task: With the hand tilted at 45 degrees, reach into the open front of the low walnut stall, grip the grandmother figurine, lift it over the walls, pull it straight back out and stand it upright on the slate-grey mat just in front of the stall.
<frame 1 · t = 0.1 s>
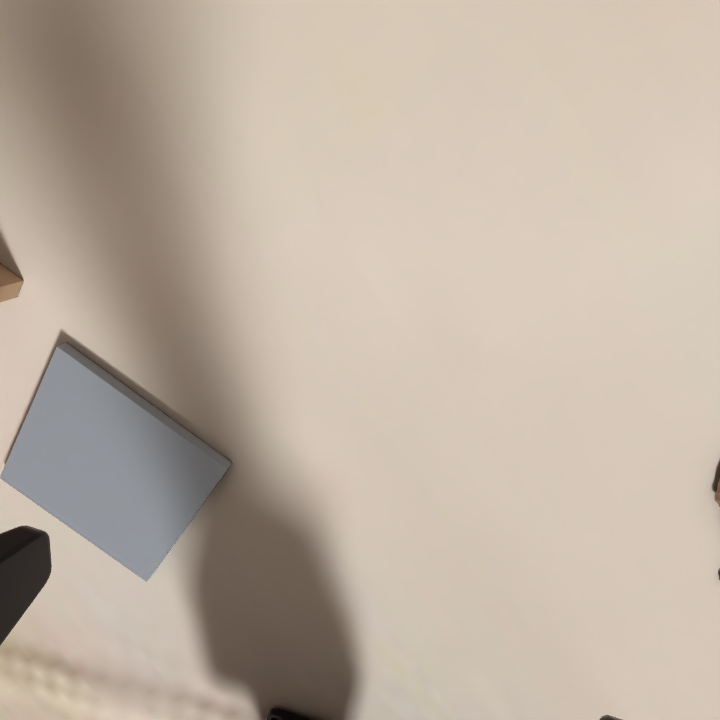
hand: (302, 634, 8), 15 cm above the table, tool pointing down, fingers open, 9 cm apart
slate mat: (112, 467, 28), on the table
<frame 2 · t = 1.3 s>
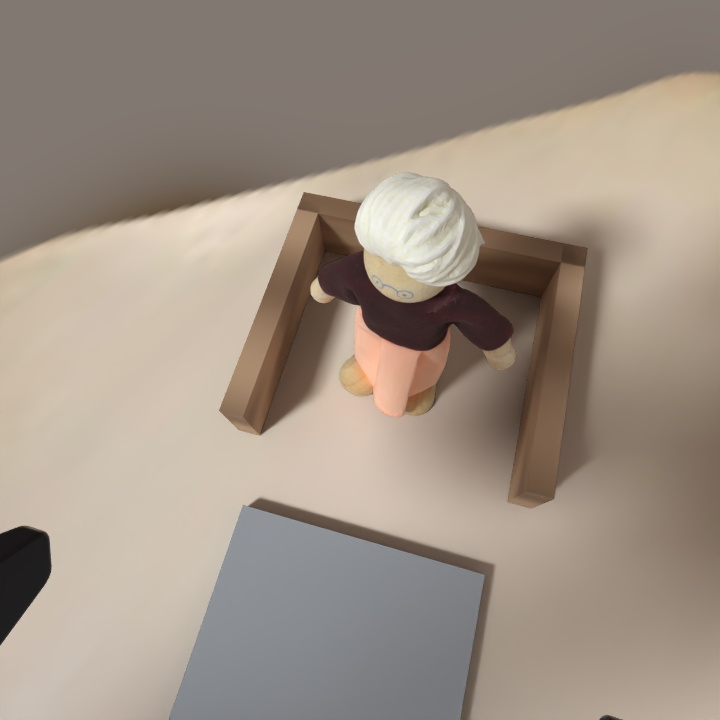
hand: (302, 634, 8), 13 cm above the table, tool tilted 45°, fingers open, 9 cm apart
walnut stall: (401, 382, 24), on the table
grandmother figurine: (401, 384, 24), on the table
slate mat: (325, 675, 19), on the table
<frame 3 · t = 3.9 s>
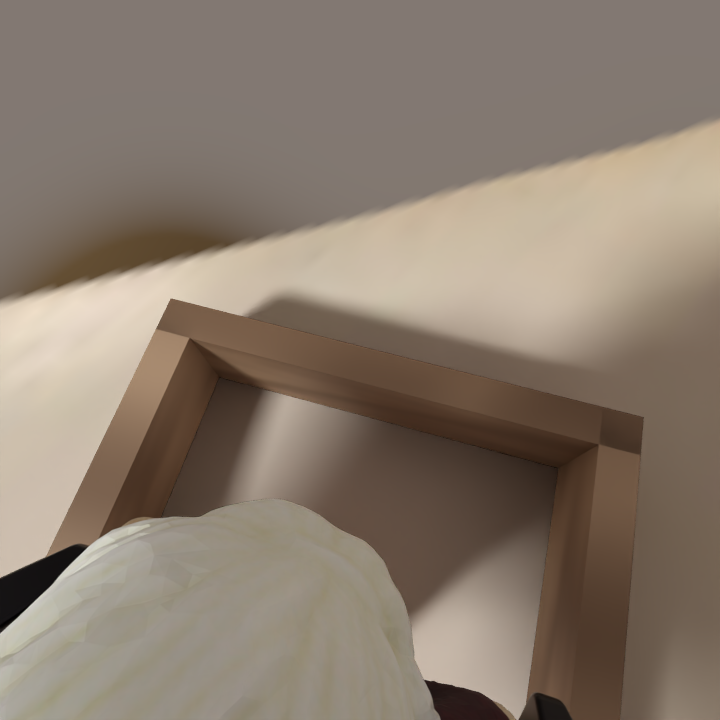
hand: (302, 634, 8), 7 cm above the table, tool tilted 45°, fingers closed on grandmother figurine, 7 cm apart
walnut stall: (324, 626, 14), on the table
grandmother figurine: (325, 625, 14), on the table, touching gripper
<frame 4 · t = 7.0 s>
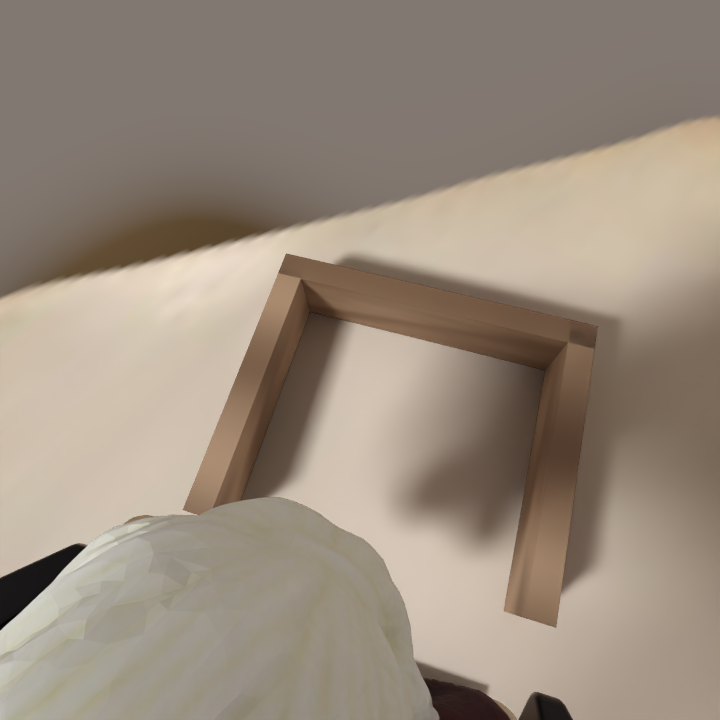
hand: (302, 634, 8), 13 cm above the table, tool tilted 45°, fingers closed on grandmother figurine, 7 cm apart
walnut stall: (389, 466, 22), on the table
grandmother figurine: (326, 624, 14), point 6 cm above the table, touching gripper
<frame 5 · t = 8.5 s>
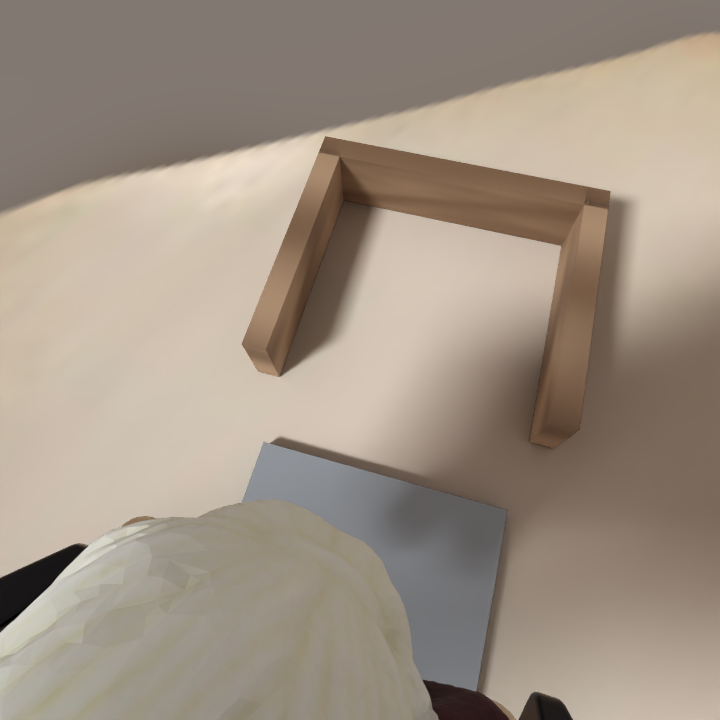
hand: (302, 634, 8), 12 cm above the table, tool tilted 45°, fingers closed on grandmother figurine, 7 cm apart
walnut stall: (421, 327, 24), on the table
grandmother figurine: (325, 625, 14), point 5 cm above the table, touching gripper
slate mat: (346, 608, 19), on the table
when the fingers open (8 cm above the table, at t = 9.9 s): grandmother figurine stays where it is, resting on slate mat.
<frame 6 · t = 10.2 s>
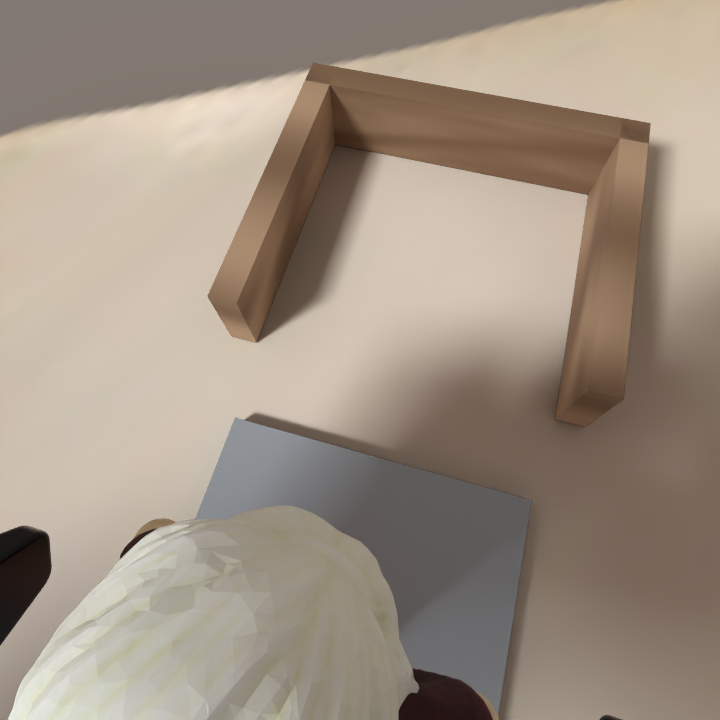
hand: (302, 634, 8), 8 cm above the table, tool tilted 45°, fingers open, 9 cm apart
walnut stall: (425, 285, 20), on the table
grandmother figurine: (323, 624, 15), resting on slate mat
slate mat: (334, 620, 16), on the table
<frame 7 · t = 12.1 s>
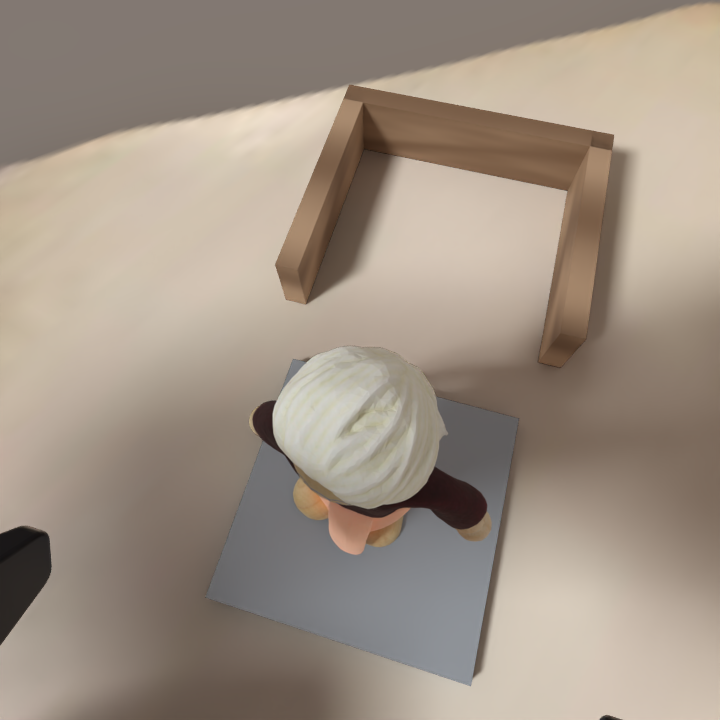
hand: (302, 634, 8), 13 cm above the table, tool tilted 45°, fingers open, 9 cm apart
walnut stall: (437, 261, 25), on the table
grandmother figurine: (364, 505, 21), resting on slate mat
slate mat: (371, 504, 21), on the table
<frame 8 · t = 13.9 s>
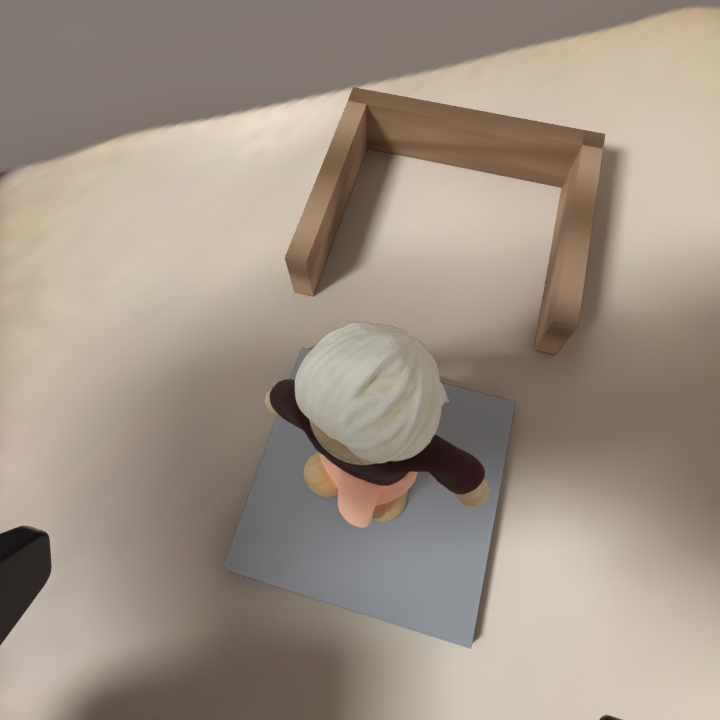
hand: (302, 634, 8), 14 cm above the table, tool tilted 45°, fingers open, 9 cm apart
walnut stall: (438, 255, 27), on the table
grandmother figurine: (370, 483, 22), resting on slate mat
slate mat: (376, 483, 22), on the table
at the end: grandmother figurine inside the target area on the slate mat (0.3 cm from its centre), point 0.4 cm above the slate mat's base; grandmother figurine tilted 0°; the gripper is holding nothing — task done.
